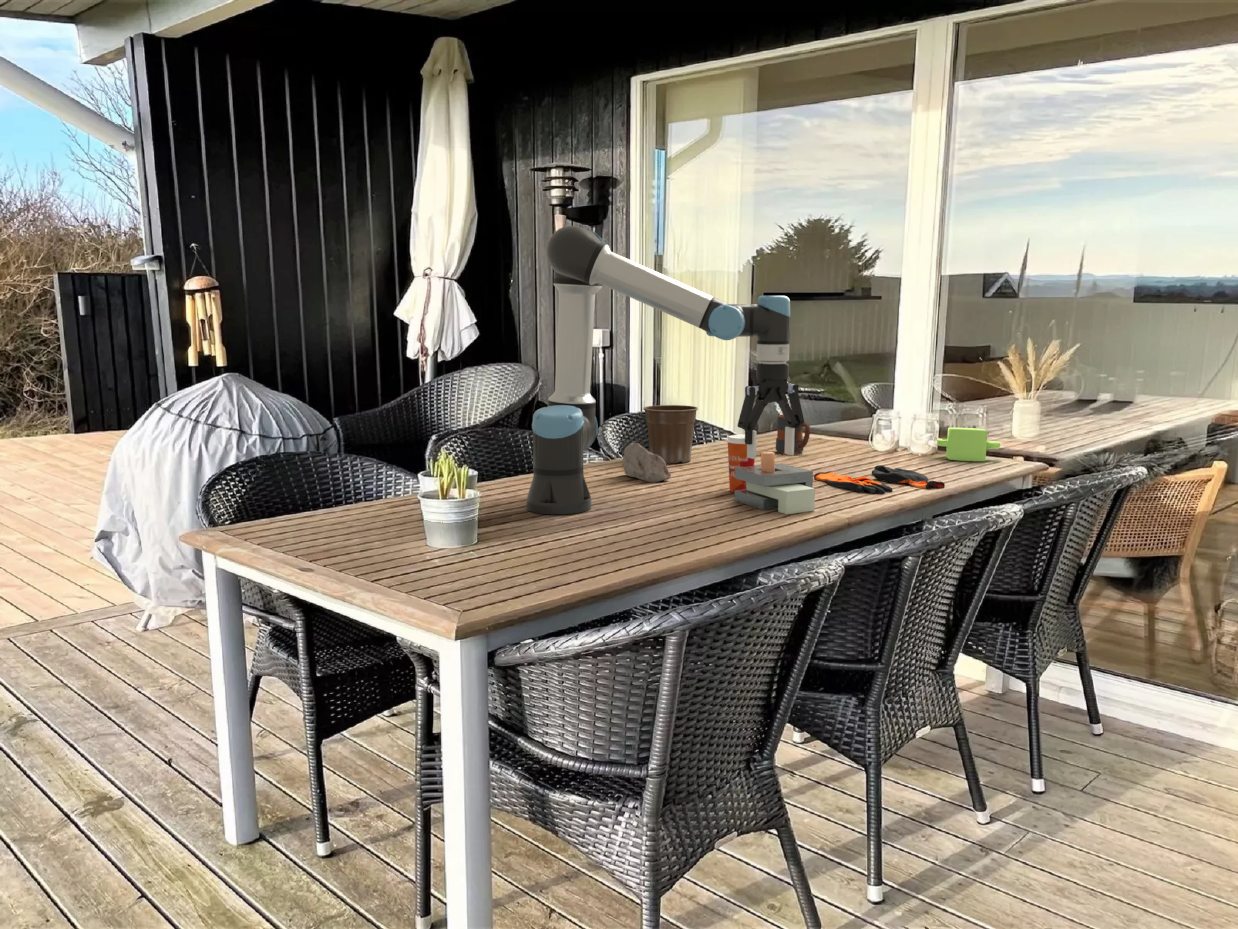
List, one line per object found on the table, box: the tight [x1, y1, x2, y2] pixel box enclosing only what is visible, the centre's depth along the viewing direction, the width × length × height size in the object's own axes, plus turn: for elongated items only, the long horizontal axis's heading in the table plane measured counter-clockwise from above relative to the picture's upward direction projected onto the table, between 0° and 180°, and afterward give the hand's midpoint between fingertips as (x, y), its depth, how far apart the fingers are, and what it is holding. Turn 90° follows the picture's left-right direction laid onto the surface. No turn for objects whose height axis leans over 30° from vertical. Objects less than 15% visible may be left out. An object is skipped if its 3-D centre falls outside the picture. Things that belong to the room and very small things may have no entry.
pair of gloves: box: [813, 464, 945, 495], centre depth 260 cm, size 27×24×3 cm
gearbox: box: [936, 427, 1001, 462], centre depth 297 cm, size 18×10×10 cm, turn 76°
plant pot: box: [643, 404, 699, 465], centre depth 294 cm, size 16×16×16 cm
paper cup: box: [725, 434, 758, 494], centre depth 249 cm, size 8×8×14 cm
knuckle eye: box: [746, 482, 816, 515], centre depth 232 cm, size 8×16×5 cm, turn 27°
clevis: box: [733, 463, 814, 511], centre depth 236 cm, size 14×12×8 cm
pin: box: [760, 451, 776, 472], centre depth 235 cm, size 3×3×12 cm
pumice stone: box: [622, 442, 672, 483], centre depth 266 cm, size 15×8×10 cm, turn 38°
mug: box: [775, 414, 811, 455], centre depth 308 cm, size 9×12×12 cm
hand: (770, 456), depth 234 cm, fingers open, 10 cm apart
